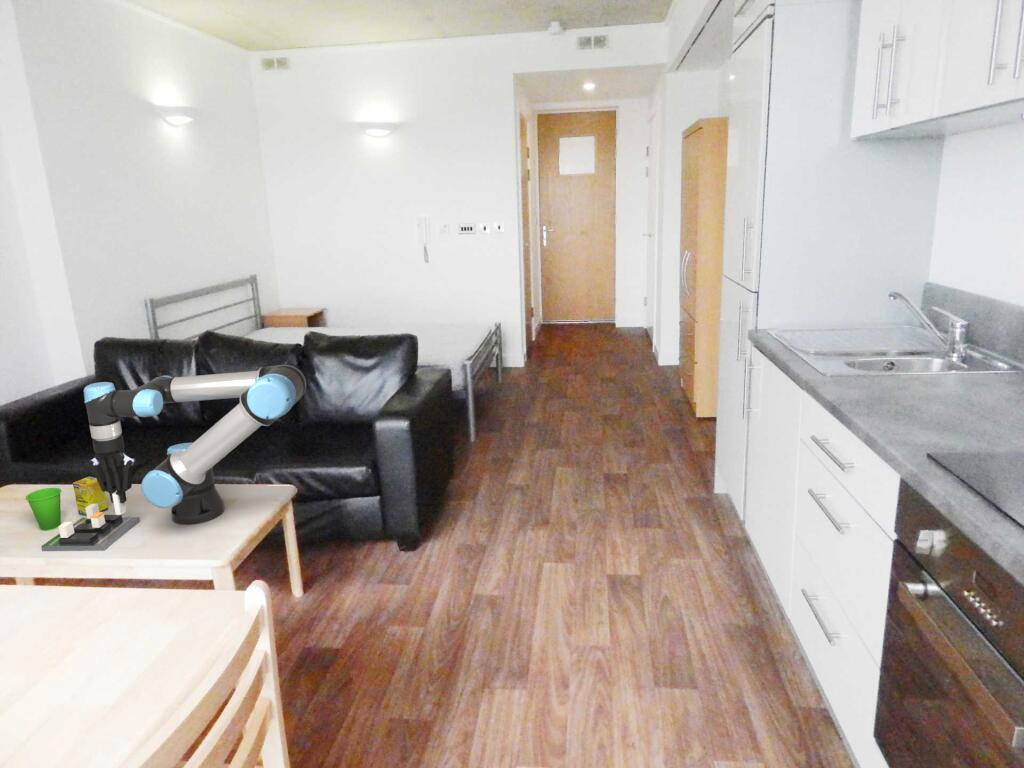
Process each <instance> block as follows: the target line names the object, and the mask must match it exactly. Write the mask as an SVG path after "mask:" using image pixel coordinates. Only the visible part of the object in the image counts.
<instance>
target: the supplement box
mask: <svg viewBox="0 0 1024 768" xmlns="http://www.w3.org/2000/svg"><path fill="white" fill-rule="evenodd" d="M72 488H73V491H74V496H75V501H76V507H77V512H78V515H82V516H85V517H87V514H86V509H85V508H86V507H88V506H89V505H91V504H98V507H99V512H103V513H104V512H106V511H108V510H109V507H108V503H107V497H106V491H105V492H103V491H102V490H101V488H100V485H99V483H98V481H97V479H96V477H94V476H87V477H84V478H82V479H79V480H76V481H75V482H72Z"/></svg>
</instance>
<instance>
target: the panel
mask: <svg viewBox="0 0 1024 768" xmlns="http://www.w3.org/2000/svg"><path fill="white" fill-rule="evenodd" d="M104 518H105V524H104V525H102V526H101V527H100V528H93V527H92V523H91V519H87V517H80V518H79V519H78V520H77V521H75V522H73V528H74V534H72V535H71V536H69V537H68V538H61V537H60V532H58V534H57V535H55V536H54V537H52V538H50V539H49V540H48V541H46V542H45V543H44V544H42V545H41V546H40V547H41V551H42V552H75V551H76V552H86V551H87V552H88V551H89V552H90V551H98V552H99V551H106V550H107V549H108V548H110V547H111V546H112V545H113V544H114V543H116V542H117V541H118V540H119V539H121V537H123V536H124V535H126V533H128V532H129V531H130V530H131V529H132V528H133V527H135V526H136V525H137V524H139V523H140V516H135V517H134V516H124V517H123V514H121V515H116V514H104Z"/></svg>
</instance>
